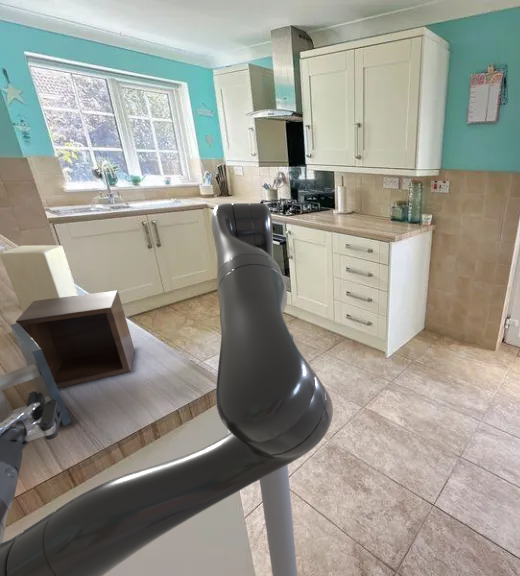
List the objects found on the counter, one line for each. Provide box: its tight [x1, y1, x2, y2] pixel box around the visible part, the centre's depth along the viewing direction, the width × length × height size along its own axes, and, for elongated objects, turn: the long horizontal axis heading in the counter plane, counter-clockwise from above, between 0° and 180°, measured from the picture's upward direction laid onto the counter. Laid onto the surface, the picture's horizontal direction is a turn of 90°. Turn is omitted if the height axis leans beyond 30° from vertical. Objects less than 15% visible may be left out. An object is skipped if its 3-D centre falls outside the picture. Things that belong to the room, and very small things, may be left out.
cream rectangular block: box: [0, 244, 79, 313], centre depth 77 cm, size 8×7×21 cm
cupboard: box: [15, 290, 136, 389], centre depth 66 cm, size 9×13×15 cm
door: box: [0, 322, 72, 427], centre depth 53 cm, size 7×13×15 cm, turn 56°
